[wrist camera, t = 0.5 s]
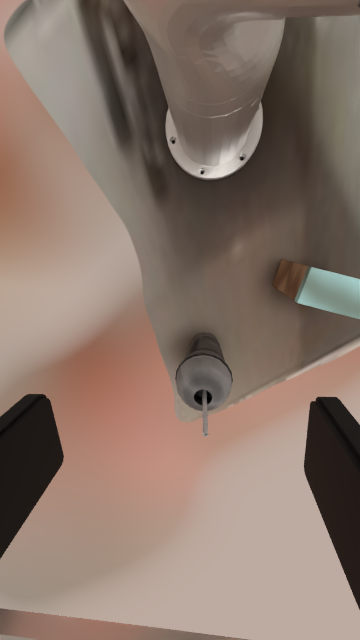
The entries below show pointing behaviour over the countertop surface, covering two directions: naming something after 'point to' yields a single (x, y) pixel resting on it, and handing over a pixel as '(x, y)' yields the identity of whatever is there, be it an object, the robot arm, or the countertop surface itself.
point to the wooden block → (319, 288)
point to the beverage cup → (204, 376)
